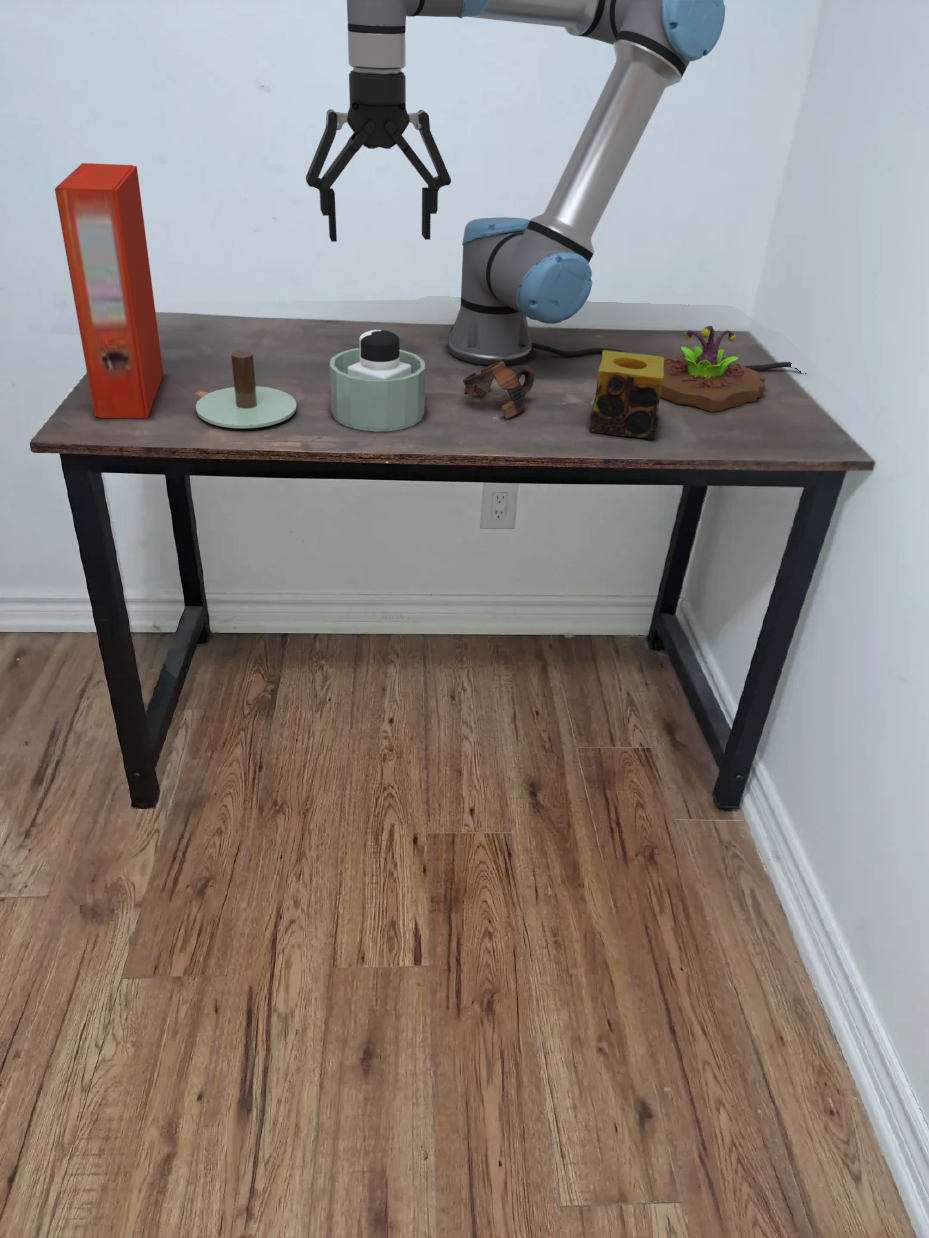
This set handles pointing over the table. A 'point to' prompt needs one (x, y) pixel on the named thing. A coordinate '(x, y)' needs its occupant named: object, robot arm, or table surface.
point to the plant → (709, 376)
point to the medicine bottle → (379, 357)
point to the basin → (377, 395)
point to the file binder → (112, 287)
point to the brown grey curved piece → (502, 385)
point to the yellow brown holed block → (628, 395)
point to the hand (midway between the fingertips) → (380, 238)
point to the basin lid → (245, 400)
